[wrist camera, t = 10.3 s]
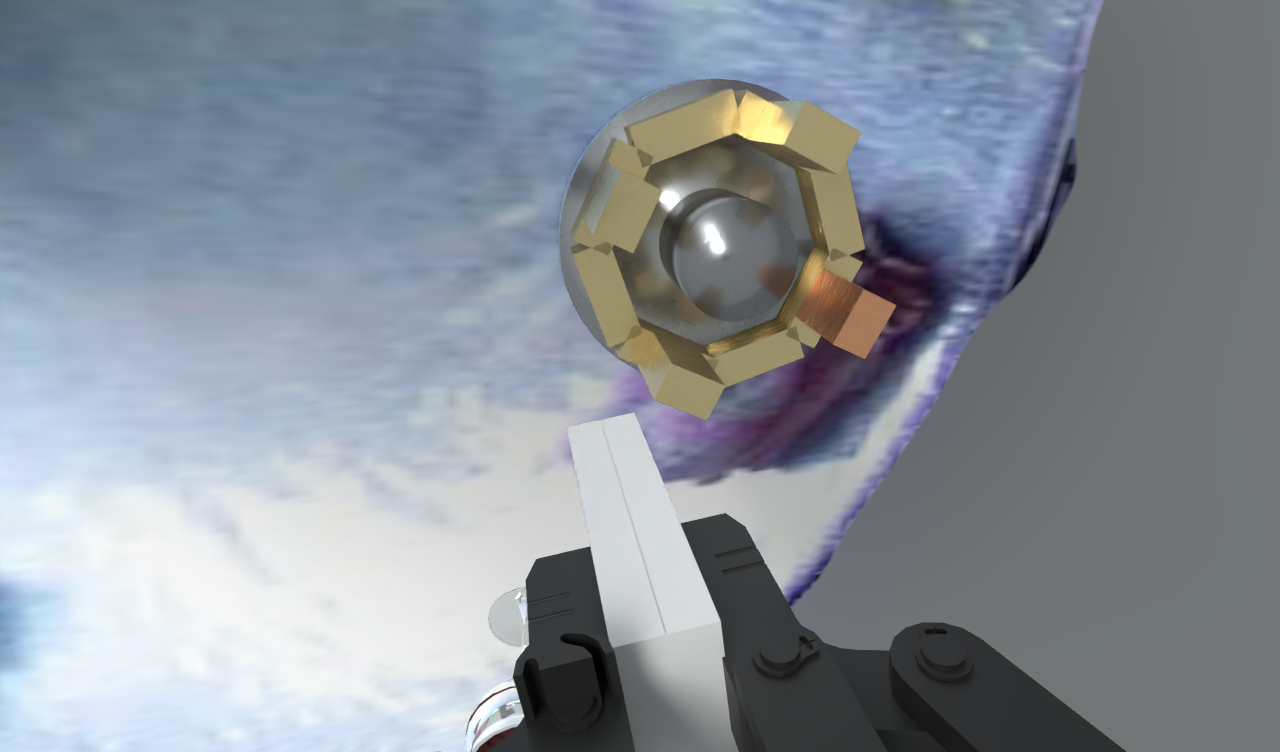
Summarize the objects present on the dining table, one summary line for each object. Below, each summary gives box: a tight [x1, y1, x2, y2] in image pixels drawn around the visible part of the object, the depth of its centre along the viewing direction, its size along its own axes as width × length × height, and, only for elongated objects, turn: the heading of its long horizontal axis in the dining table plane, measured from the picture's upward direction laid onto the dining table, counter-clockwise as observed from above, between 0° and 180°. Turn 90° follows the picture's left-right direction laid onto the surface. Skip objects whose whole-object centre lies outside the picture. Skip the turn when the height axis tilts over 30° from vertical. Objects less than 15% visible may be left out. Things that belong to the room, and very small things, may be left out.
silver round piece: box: [558, 79, 851, 371], centre depth 38 cm, size 17×17×7 cm
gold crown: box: [570, 89, 896, 420], centre depth 36 cm, size 15×15×7 cm
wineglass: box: [465, 588, 529, 752], centre depth 43 cm, size 7×7×12 cm
